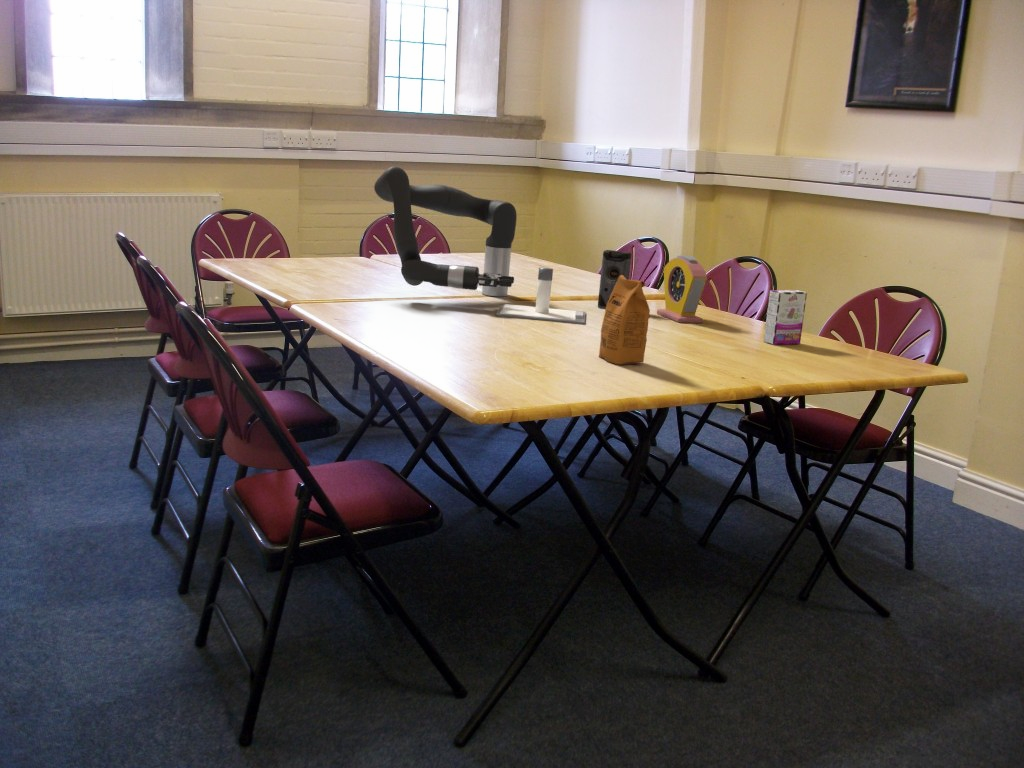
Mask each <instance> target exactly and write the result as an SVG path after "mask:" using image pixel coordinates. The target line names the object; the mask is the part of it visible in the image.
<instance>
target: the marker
mask: <svg viewBox="0 0 1024 768" xmlns="http://www.w3.org/2000/svg"><path fill="white" fill-rule="evenodd" d="M537 273H538V274H537V287H536V288H537V289H536V299H535V307H536V309H535V312H538V313H549V308H550V302H551V293H552V284H553V282H552V281H553V276H554V274H553V273H554V269H553V268H551V267H539V268H538V272H537Z"/></svg>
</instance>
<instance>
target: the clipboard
mask: <svg viewBox="0 0 1024 768" xmlns="http://www.w3.org/2000/svg"><path fill="white" fill-rule="evenodd" d="M535 309H536V306H531V305H530V306H529V305H518V304H507V303H502V304H501V306H500V307H499V309H498V310H497V312H496V313H495V316H496V317H502V318H513V319H522V320H523V319H525V320H532V321H533V320H534V321H535V320H536V321H544V322H545V321H546V322H556V323H566V324H574V325H575V324H576V325H585V322H586V311H585V310H584V311H581V310H572V309H564V308H563V309H562V308H561V309H560V308H551V307H549V313H538V312H535Z"/></svg>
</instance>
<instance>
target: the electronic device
mask: <svg viewBox="0 0 1024 768" xmlns="http://www.w3.org/2000/svg"><path fill="white" fill-rule="evenodd" d="M631 259H632V252H629V251H621V250H613V249H612V250H611V249H605V250H603V252H602V260H601V270H600V279H599V289H598V300H597V308H598V309H603V310H606V306H607V303H608V300H609V298H610V295H611V293H612V291H613V289H614V286H615V285H616V283H617V281H618V278H619V276H620V275H623V276H624V277H625V278H626V279H627V280H628V279H629V280H630V274H631V262H632V261H631Z"/></svg>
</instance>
